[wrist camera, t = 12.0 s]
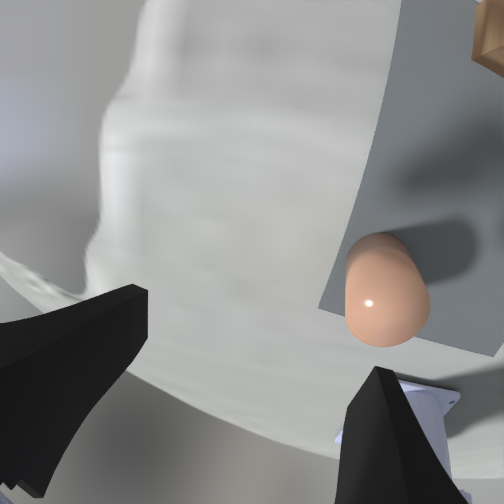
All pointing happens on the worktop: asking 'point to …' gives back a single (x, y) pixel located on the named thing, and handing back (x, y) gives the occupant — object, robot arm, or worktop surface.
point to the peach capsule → (384, 292)
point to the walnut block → (489, 36)
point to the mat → (438, 176)
